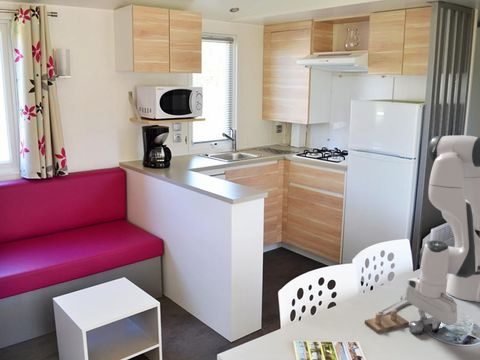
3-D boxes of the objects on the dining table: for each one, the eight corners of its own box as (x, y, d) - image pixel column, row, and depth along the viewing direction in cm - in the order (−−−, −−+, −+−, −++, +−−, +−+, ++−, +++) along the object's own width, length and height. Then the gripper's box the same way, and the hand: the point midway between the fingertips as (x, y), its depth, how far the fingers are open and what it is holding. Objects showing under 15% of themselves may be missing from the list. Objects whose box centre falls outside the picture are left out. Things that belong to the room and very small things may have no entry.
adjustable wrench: (382, 319, 171) (382, 315, 170) (368, 312, 176) (368, 308, 176) (422, 301, 185) (423, 297, 185) (408, 295, 190) (409, 291, 190)
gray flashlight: (436, 322, 169) (437, 314, 168) (446, 328, 165) (447, 320, 164) (406, 329, 163) (407, 322, 162) (415, 336, 159) (416, 328, 158)
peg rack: (395, 316, 173) (396, 304, 172) (408, 325, 166) (409, 312, 165) (364, 323, 167) (365, 311, 166) (377, 332, 161) (378, 320, 160)
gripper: (463, 299, 153) (459, 337, 156) (417, 275, 171) (414, 310, 174) (449, 302, 150) (445, 341, 153) (404, 278, 169) (401, 313, 171)
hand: (428, 324), depth 164 cm, fingers closed on gray flashlight, 3 cm apart
